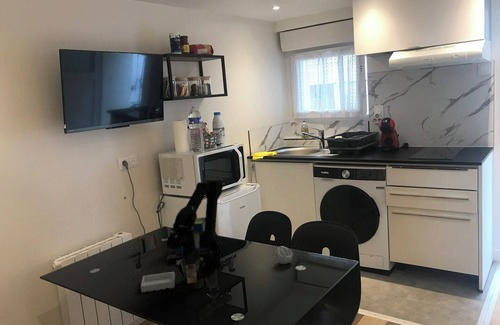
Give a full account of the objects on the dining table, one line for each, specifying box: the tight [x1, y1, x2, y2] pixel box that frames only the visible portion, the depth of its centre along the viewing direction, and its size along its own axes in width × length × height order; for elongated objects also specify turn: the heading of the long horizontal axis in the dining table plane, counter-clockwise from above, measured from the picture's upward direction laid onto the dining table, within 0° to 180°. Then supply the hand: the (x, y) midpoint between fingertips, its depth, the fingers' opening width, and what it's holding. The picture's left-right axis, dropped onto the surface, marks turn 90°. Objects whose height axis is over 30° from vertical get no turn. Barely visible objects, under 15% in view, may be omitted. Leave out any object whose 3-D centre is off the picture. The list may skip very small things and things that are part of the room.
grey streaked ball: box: [274, 245, 294, 265], centre depth 190 cm, size 8×8×8 cm
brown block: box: [185, 263, 198, 284], centre depth 180 cm, size 4×6×7 cm, turn 9°
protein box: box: [172, 217, 205, 255], centre depth 218 cm, size 10×15×16 cm
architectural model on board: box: [137, 232, 159, 254], centre depth 225 cm, size 11×3×10 cm, turn 150°
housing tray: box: [140, 271, 176, 293], centre depth 179 cm, size 13×11×2 cm
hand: (191, 277), depth 181 cm, fingers open, 6 cm apart
